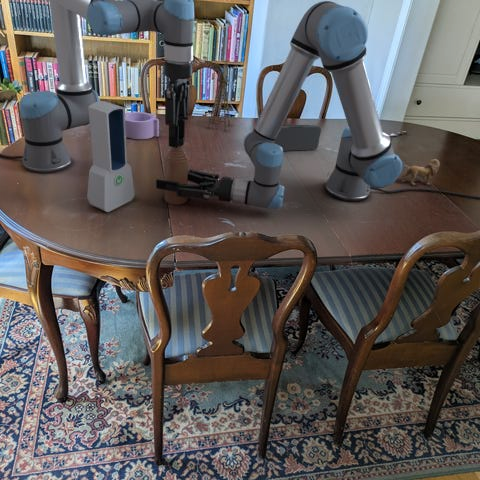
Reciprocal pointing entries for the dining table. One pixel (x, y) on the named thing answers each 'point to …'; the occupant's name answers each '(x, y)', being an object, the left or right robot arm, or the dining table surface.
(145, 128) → the clip
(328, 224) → the dining table surface
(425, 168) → the lion figurine
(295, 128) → the handheld gaming console
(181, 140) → the cap
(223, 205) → the dining table surface
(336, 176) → the right robot arm
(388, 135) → the sword
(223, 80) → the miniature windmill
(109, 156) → the electronic device
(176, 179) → the bottle
